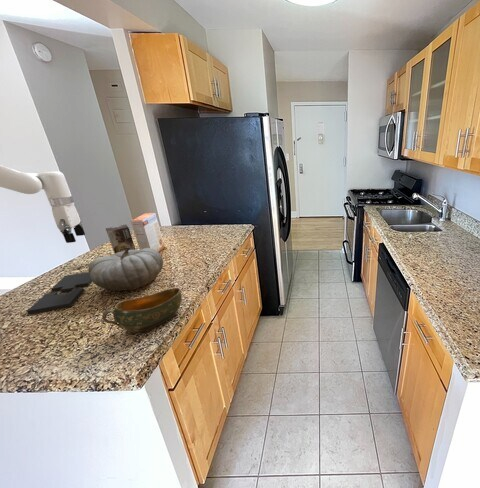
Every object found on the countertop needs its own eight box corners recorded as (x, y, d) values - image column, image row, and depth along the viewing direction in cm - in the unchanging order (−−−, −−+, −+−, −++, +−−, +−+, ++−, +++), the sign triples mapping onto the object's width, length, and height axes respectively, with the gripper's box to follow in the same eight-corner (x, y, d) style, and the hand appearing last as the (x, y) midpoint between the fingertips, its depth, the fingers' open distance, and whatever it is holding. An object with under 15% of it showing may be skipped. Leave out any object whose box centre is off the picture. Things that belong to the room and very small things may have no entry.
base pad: (28, 314, 93) (26, 310, 92) (47, 296, 103) (45, 293, 103) (70, 306, 97) (69, 303, 96) (84, 290, 107) (83, 287, 107)
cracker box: (154, 248, 149) (144, 212, 141) (165, 247, 150) (156, 212, 142) (141, 258, 136) (129, 220, 128) (153, 257, 137) (142, 219, 129)
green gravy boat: (122, 317, 91) (113, 292, 87) (185, 305, 98) (180, 281, 94) (109, 342, 80) (98, 315, 76) (181, 326, 86) (174, 301, 83)
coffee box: (135, 251, 145) (126, 224, 139) (137, 255, 140) (129, 226, 134) (114, 256, 139) (105, 227, 133) (116, 260, 134) (106, 230, 128)
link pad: (49, 294, 105) (47, 291, 104) (66, 278, 117) (65, 275, 116) (86, 288, 109) (85, 285, 108) (99, 273, 121) (98, 270, 120)
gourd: (150, 292, 101) (132, 250, 96) (83, 307, 99) (61, 266, 94) (176, 268, 125) (163, 234, 120) (122, 280, 123) (107, 246, 118)
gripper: (60, 198, 118) (74, 233, 124) (38, 206, 103) (55, 246, 109) (81, 196, 120) (94, 231, 127) (62, 205, 105) (78, 244, 112)
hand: (76, 238), depth 118 cm, fingers open, 9 cm apart
